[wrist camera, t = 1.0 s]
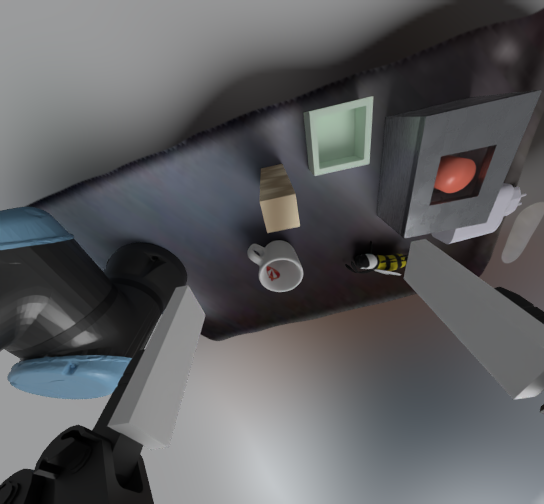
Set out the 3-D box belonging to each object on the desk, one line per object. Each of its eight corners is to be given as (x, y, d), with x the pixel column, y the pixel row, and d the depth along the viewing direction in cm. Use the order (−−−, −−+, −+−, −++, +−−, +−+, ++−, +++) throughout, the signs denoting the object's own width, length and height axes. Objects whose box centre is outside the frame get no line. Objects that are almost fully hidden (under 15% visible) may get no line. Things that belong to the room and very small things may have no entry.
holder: (308, 169, 34) (314, 175, 30) (303, 112, 30) (309, 111, 26) (357, 158, 33) (369, 163, 30) (358, 99, 29) (373, 96, 25)
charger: (498, 216, 42) (429, 234, 42) (518, 171, 37) (440, 191, 37) (526, 226, 38) (450, 246, 38) (552, 176, 33) (465, 198, 33)
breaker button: (418, 187, 32) (436, 196, 28) (423, 157, 29) (444, 162, 26) (447, 181, 31) (469, 189, 28) (455, 150, 29) (481, 155, 26)
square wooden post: (265, 189, 35) (267, 233, 22) (260, 168, 34) (259, 201, 20) (285, 185, 35) (300, 226, 22) (282, 163, 33) (295, 194, 20)
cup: (240, 251, 42) (236, 276, 36) (260, 221, 39) (259, 242, 32) (283, 271, 46) (286, 298, 39) (304, 246, 42) (312, 270, 36)
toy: (431, 232, 38) (350, 240, 39) (438, 272, 38) (355, 279, 39) (409, 238, 45) (341, 244, 46) (415, 271, 44) (345, 277, 45)
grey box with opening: (376, 215, 39) (404, 238, 31) (385, 117, 30) (426, 116, 23) (442, 202, 38) (486, 222, 30) (470, 97, 29) (542, 89, 22)
